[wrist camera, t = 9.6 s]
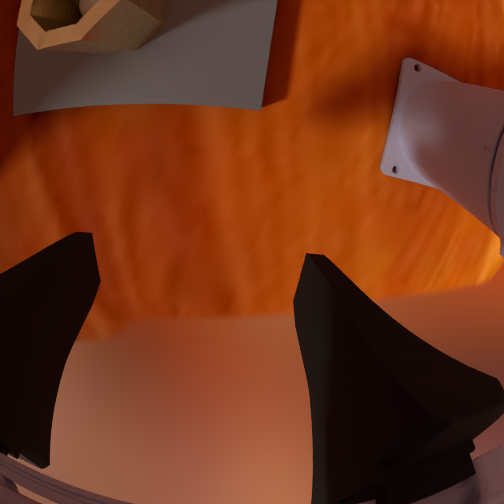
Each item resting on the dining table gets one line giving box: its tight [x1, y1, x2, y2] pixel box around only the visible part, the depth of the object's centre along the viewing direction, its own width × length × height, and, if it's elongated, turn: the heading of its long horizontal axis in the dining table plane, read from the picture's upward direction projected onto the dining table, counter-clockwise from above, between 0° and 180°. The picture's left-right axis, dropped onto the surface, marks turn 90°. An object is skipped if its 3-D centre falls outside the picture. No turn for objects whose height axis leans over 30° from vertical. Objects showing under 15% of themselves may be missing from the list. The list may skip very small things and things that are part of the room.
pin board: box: [13, 0, 277, 116], centre depth 9 cm, size 16×11×6 cm
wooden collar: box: [17, 0, 170, 54], centre depth 8 cm, size 5×5×6 cm
